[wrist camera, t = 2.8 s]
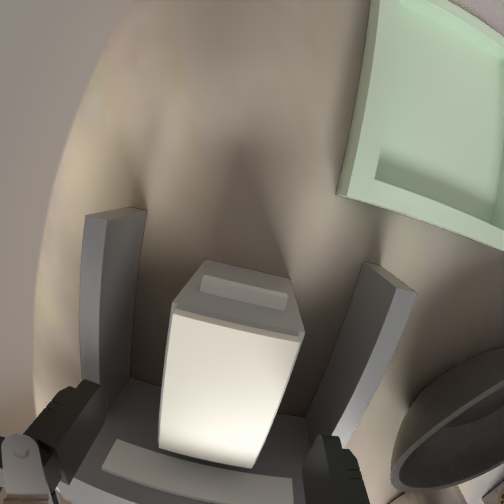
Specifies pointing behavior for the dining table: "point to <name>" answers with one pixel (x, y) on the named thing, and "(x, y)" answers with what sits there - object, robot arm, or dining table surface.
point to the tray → (430, 119)
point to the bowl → (453, 427)
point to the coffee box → (495, 495)
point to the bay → (148, 395)
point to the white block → (227, 363)
